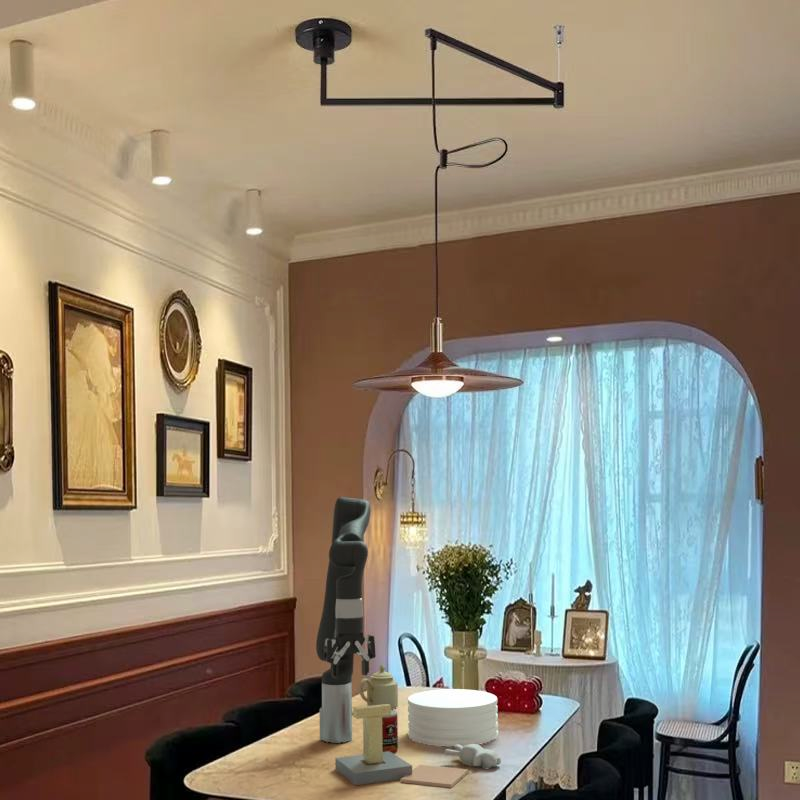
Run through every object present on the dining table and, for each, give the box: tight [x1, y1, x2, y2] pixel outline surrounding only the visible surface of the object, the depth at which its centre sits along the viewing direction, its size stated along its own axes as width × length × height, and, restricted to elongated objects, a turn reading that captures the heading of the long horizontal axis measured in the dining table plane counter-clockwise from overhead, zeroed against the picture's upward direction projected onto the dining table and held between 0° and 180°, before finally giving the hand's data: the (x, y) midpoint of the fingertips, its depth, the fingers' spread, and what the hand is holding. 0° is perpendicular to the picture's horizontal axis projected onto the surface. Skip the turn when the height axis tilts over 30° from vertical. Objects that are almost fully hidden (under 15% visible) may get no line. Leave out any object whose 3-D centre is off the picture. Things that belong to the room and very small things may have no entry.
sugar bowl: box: [358, 664, 399, 710], centre depth 329 cm, size 15×11×15 cm
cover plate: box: [334, 751, 413, 786], centre depth 249 cm, size 16×16×3 cm
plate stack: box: [407, 688, 499, 747], centre depth 289 cm, size 28×28×12 cm
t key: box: [353, 704, 392, 766], centre depth 250 cm, size 10×4×18 cm, turn 113°
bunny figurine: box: [444, 744, 502, 769], centre depth 256 cm, size 10×5×15 cm
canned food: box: [382, 709, 399, 754], centre depth 272 cm, size 8×8×11 cm
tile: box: [400, 764, 469, 788], centre depth 244 cm, size 14×14×1 cm
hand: (350, 676), depth 249 cm, fingers open, 8 cm apart
